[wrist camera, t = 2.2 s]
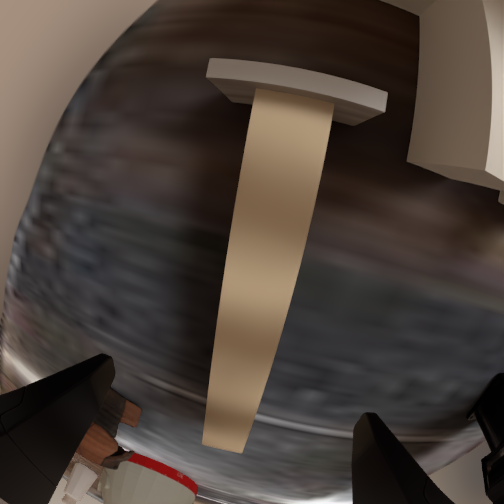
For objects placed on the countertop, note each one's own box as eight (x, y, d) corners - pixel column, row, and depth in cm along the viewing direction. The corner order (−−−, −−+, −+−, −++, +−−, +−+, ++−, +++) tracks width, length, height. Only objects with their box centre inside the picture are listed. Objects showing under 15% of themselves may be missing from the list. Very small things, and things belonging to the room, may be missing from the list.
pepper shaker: (71, 459, 35) (50, 493, 25) (86, 465, 34) (65, 502, 24) (87, 472, 37) (68, 506, 26) (102, 478, 36) (84, 514, 25)
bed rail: (268, 418, 20) (263, 467, 15) (193, 402, 21) (176, 448, 16) (355, 112, 12) (387, 92, 8) (235, 88, 13) (210, 58, 8)
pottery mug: (170, 422, 23) (139, 485, 18) (132, 401, 29) (106, 451, 24) (67, 357, 18) (27, 431, 12) (54, 347, 24) (23, 402, 19)
